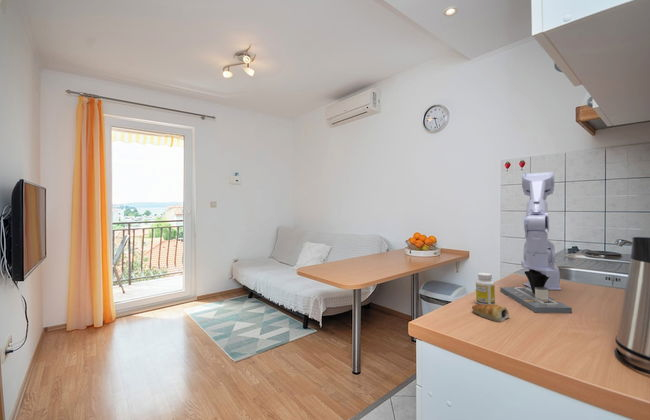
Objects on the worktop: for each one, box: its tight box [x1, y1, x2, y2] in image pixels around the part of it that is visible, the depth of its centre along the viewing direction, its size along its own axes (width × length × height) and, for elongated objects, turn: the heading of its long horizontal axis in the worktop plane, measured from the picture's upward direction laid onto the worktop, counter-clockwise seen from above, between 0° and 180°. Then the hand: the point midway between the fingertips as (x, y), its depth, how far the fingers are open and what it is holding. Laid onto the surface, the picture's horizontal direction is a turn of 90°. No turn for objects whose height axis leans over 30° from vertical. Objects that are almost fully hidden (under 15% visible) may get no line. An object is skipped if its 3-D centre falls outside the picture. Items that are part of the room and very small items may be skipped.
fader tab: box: [535, 287, 550, 302], centre depth 95 cm, size 3×3×4 cm
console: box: [499, 286, 573, 314], centre depth 100 cm, size 10×22×2 cm, turn 174°
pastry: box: [471, 303, 510, 323], centre depth 88 cm, size 9×7×4 cm
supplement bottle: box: [475, 272, 496, 305], centre depth 99 cm, size 5×5×10 cm
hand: (537, 294), depth 97 cm, fingers closed
